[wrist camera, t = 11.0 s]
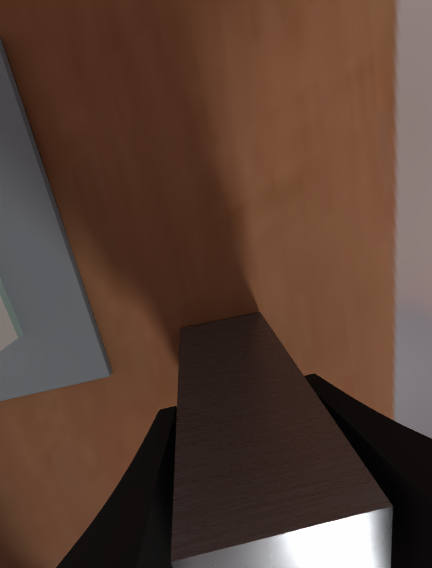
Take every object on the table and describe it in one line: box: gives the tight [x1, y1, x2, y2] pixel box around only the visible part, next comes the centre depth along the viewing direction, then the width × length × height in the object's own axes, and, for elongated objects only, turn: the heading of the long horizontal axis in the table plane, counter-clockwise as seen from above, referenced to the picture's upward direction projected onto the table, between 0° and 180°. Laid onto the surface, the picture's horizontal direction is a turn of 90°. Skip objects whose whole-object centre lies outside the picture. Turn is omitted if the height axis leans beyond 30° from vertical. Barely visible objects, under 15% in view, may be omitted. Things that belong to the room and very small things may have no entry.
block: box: [171, 312, 393, 568], centre depth 10 cm, size 4×4×9 cm
